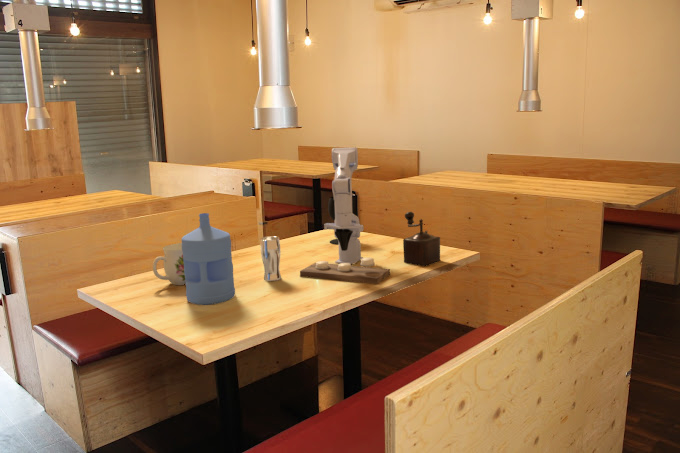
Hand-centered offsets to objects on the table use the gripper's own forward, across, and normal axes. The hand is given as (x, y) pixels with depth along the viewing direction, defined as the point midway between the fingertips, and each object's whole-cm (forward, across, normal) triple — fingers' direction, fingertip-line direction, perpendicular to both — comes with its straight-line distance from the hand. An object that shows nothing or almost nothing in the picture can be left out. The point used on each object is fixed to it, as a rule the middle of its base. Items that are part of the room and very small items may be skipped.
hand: (344, 250), depth 219 cm
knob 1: (+7, -9, 0) cm, 12 cm away
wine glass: (+10, -24, +47) cm, 54 cm away
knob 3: (+5, +9, 0) cm, 10 cm away
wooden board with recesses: (+9, 0, 0) cm, 9 cm away
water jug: (+10, -31, -37) cm, 49 cm away
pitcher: (+10, -53, -27) cm, 61 cm away
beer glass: (+10, -23, -12) cm, 28 cm away
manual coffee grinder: (+10, +18, +27) cm, 34 cm away
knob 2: (+7, 0, 0) cm, 7 cm away
